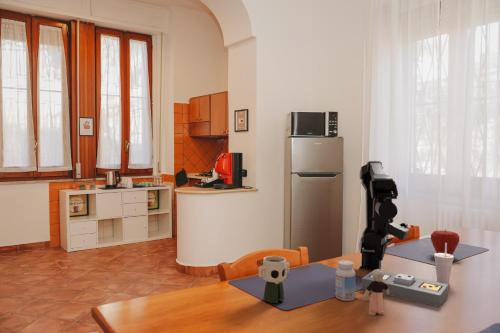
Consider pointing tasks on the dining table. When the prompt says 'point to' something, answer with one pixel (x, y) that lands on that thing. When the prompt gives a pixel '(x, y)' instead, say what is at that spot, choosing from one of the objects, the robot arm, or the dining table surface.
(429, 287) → the button three
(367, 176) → the robot arm
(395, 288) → the button panel
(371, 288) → the grandmother figurine
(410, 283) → the button two
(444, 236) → the apple
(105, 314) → the dining table surface
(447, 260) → the smoothie
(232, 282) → the dining table surface
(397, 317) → the dining table surface
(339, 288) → the pill bottle
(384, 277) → the button one
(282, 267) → the character mug
